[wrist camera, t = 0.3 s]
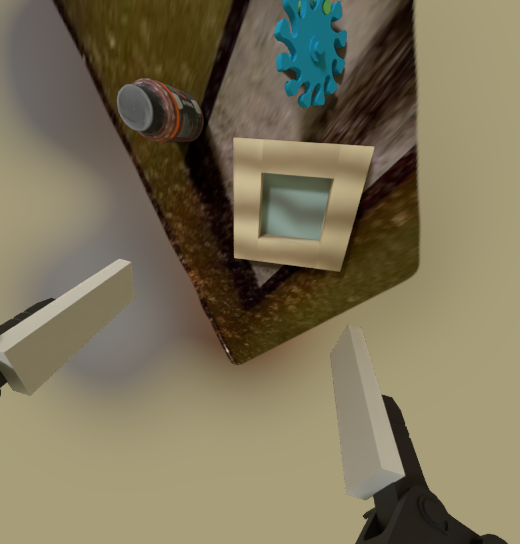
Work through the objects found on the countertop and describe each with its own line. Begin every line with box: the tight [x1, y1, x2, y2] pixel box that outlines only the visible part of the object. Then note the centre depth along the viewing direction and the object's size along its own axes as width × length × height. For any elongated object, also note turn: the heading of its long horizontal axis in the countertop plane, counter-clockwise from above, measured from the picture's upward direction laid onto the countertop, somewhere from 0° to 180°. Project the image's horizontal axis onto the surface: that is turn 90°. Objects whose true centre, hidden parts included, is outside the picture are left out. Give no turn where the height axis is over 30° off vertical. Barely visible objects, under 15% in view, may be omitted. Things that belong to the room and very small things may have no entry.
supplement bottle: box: [117, 78, 204, 142], centre depth 28 cm, size 6×6×11 cm
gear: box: [274, 0, 347, 108], centre depth 25 cm, size 11×6×10 cm
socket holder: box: [234, 138, 374, 272], centre depth 35 cm, size 18×18×3 cm
